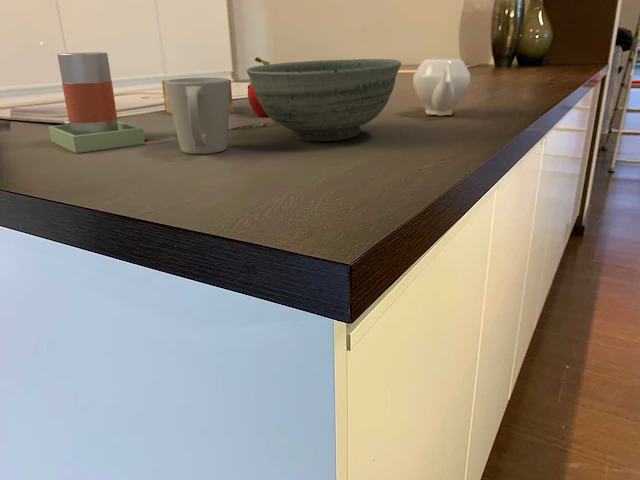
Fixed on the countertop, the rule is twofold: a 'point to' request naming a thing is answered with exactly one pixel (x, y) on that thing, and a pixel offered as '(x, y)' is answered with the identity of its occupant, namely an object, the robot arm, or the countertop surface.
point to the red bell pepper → (253, 98)
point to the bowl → (324, 95)
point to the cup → (200, 113)
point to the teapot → (441, 83)
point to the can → (88, 92)
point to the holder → (167, 103)
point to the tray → (97, 138)
